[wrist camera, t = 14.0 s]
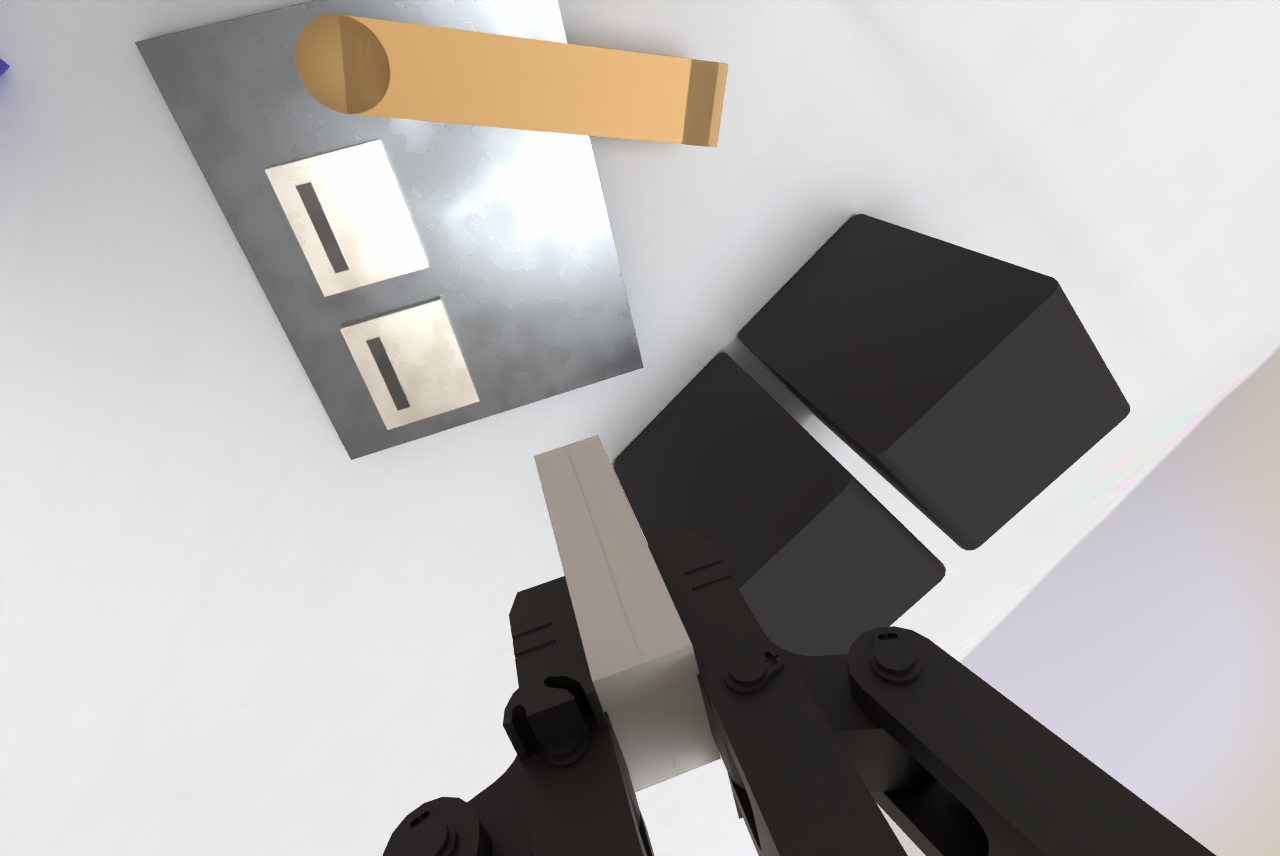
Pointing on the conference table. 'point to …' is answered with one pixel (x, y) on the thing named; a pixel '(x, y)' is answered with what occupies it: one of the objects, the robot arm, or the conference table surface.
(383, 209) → the server board
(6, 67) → the stapler
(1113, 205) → the conference table surface
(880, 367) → the speaker
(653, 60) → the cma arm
